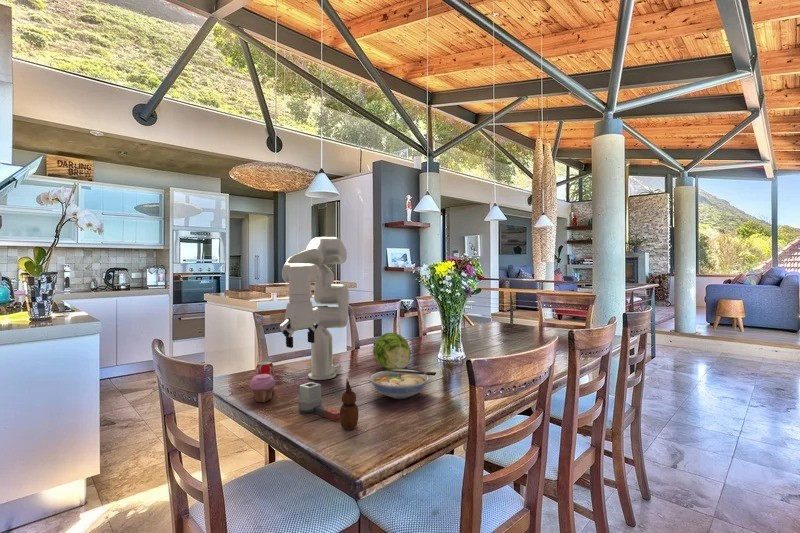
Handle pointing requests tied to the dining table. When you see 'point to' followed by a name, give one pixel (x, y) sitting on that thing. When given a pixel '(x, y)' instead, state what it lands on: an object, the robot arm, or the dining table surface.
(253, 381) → the cupcake
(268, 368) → the soda can
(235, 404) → the dining table surface
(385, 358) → the lettuce
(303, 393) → the socket
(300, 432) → the dining table surface
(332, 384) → the dining table surface
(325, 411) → the ratchet
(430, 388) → the dining table surface
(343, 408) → the wooden figurine
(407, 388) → the ramen bowl
